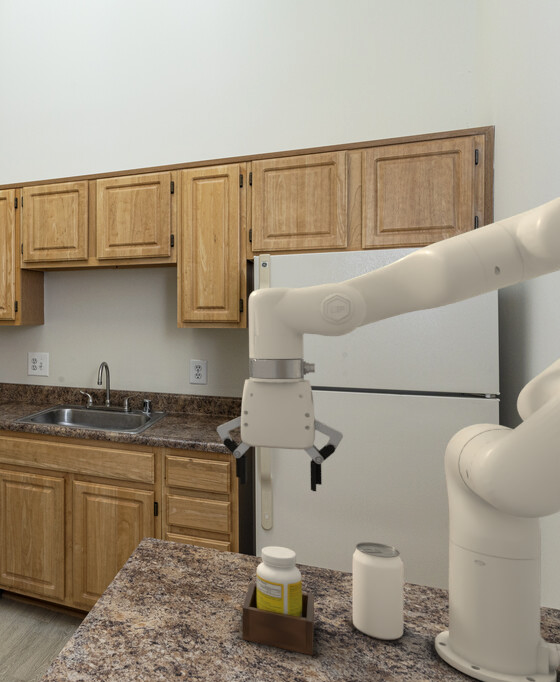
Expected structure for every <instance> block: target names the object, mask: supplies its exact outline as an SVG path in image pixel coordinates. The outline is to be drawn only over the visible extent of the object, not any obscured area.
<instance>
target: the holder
mask: <svg viewBox="0 0 560 682" xmlns="http://www.w3.org/2000/svg"><path fill="white" fill-rule="evenodd" d="M314 631H315V594H313V593H308V592H303V591H302V617H298V616H293V615H288V614H283V613H278V612H273V611H268V610H263V609H258V608H257V583H255V582H254V583H253V582H250V583H249V585H248V589H247V591H246V595H245V598H244V602H243V605H242V640H243V641H246V642H247V641H248V642H253V643H257V644H260V645H261V644H262V645H266V646H269V647H275V648H277V649H283V650H288V651H291V652H297V653H300V654H305V655H310V656H313V655H314V635H315V634H314Z"/></svg>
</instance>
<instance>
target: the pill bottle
mask: <svg viewBox="0 0 560 682" xmlns="http://www.w3.org/2000/svg"><path fill="white" fill-rule="evenodd" d="M296 565H297V554H296V552H295V551H294V550H292V549H290V548H287V547H282V546H277V545H273V546H272V545H271V546H265V547H262V549H261V562H260V563H259V564H258V565H257V567H256V584H257V608H258V609H263V610H268V611H273V612H278V613H283V614H288V615H293V616H298V617H302V592H303V578H302V573H301V570H300V569H299V568H297V566H296Z"/></svg>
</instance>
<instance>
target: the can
mask: <svg viewBox="0 0 560 682" xmlns="http://www.w3.org/2000/svg"><path fill="white" fill-rule="evenodd" d="M355 548H356V549H355V550H354V552H353V554H352V624H353V626H354V627H355V629H356V630H357V631H359V632H360V633H361V634H363V635H365V636H368V637H370V638H373V639H376V640H382V641H395V640H398V639H400V638H401V637H402V636H403V635H404V562H403V560H402V558H401V556H400V554H401V552H400V550H399V549H397V548H395V547H393V546H391V545H388V544H386V543H385V544H384V543H379V542H370V541H363V542H362V541H361V542H359V543H356V545H355Z"/></svg>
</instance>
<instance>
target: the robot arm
mask: <svg viewBox="0 0 560 682" xmlns="http://www.w3.org/2000/svg"><path fill="white" fill-rule="evenodd" d="M558 271H560V196H558V197H555V198H554V199H552V200H549V201H547V202H545V203H543V204H541V205H539V206H536V207H533V208H531V209H528V210H526V211H523V212H520V213H518V214H517V213H516V214H515V215H512V216H509V217H507V218H503V219H501V220H498V221H494V222H492V223H489V224H487V225H483V226H481V227H478V228H475V229H472V230H469V231H467V232H464V233H461V234H458V235H454V236H451V237H449V238H445V239H443V240H440V241H437V242H434V243H432V244H429V245H426V246H424V247H421V248H419V249H417V250H415V251H413V252H411V253H409V254H407V255H405V256H404V257H402V258H400V259H398V260H396V261H395V260H394V261H393V262H391V263H389V264H387V265H385V266H381V267H379V268H377V269H374V270H371V271H369V272H365V273H364V274H361V275H358V276H355V277H352V278H349V279H346V280H343V281H340V282H329V283H323V284H318V285H311V286H304V287H296V288H295V287H288V286H287V287H285V286H284V287H283V286H282V287H281V286H278V287H265V288H258V289H255V290H253V291H252V292H251V293H250V294H249V297H248V356H249V360H248V361H249V362H248V364H249V365H248V367H249V378H248V379H244V384H243V391H242V398H241V409H240V411H241V412H240V416H238V417H236V418H233V419H231V420H229V421H227V422H225V423H222V424H220V425H219V426H217V428H216V432H217V434H218V436H219V438H220V439H221V441H222V443H223V445H224V446H225V448H227V450H228V451H229V452H230V453H231V454H232V456H233V457H234V458H235V477H236V478H238V479H239V478H240V479H239V480H240V485H241V486H244V485H246V484H247V482H248V480H249V479H248V477H249V476H248V474H249V473H248V456H247V454H246V452H247V451H248V450H249V448H250V447H253V448H269V449H283V450H304V451H305V453H307V455H308V456H309V457H310V458H311V460H310V463H309V464H310V465H309V466H310V468H309V469H310V491H312V492H317V485H318V486H319V485H320V486H322V480H323V479H322V464H323V463H324V461H326V460H327V459H328V458H329V457H331V456H332V455H333V454H334V453H335V451H336V449H337V448H338V446H339V445H340V443H341V441H342V440H343V438H344V435H343V432H341V431H340V430H339V429H335V428H334V427H332V426H330V425H328V424H326V423H324V422H322V421H320V420H319V419H316V418H315V405H314V396H313V391H312V384H311V382H310V380H309V379H305V376H306V375H307V374H310V373H316V372H315V369H316V368H315V365H316V364H315V363H310V362H307V361H305V358H304V357H305V356H304V354H305V353H304V335H305V334H308V335H316V336H317V335H319V336H324V337H341V336H345V335H347V334H350V333H352V332H353V331H355V330H356V329H358V328H361V327H364V326H366V325H370V324H373V323H377V322H379V321H383V320H386V319H390V318H393V317H396V316H400V315H404V314H409V313H413V312H419V311H424V310H425V311H426V310H431V309H438V308H442V307H445V306H449V305H452V304H456V303H459V302H460V303H461V302H462V301H467V300H469V299H471V298H474V297H479V296H481V295H485V294H487V293H491V292H494V291H497V290H500V289H504V288H507V287H510V286H513V285H516V284H519V283H523V282H526V281H530V280H533V279H535V278H539V277H543V276H545V275H549V274H553V273H555V272H558ZM516 409H517V410H516V411H517V412H518V415H519V417H520V419H521V420H522V422H521V423H520V424H518V426H516V427H515V428H511V427H507V426H505V425H501V424H497V423H496V424H495V423H475V424H472V425H468V426H465V427H463V428H462V429H460V430H459V431H457V432H456V433H455V434H454V435H453V436H452V437H451V438H450V440H449V441H448V443H447V445H446V448H445V453H444V458H443V459H444V460H443V463H444V475H445V477H444V478H445V483H446V491H447V501H448V630H444V631H441V632H439V633H438V634H437V635H436V636H435V638H434V648H435V651H436V653H437V655H438V656H439V657H440V658H441V659H442V660H443V661H445V662H446V663H447V664H448V665H449V666H451V667H453V668H454V669H456V670H457V671H459V672H461V673H463V674H465V675H467V676H469V677H471V678H473V679H477V680H478V681H481V682H557V678H558V677H557V676H558V675H557V670H556V669H559V667H560V643H552V642H548V641H546V640H545V639H544V638H543V637H542V636H541V582H542V581H541V578H542V577H541V573H542V571H541V569H542V568H541V567H542V566H541V565H542V564H541V563H542V561H541V559H542V557H541V556H542V534H541V533H542V531H541V522H540V518H544V517H548V516H552V515H554V514H557V513H559V512H560V357H559V358H557V359H556V360H555V361H554V362H553V363H551V364H550V365H549V366H548V367H547V368H545V369H544V370H542V372H540V373H538V374H537V375H536V376H534V377H533V378H532V379H530V380H529V382H528V383H527V384H525V386H524V387H523V388H522V389H521V391H520V393H519V394H518V397H517V401H516ZM236 428H240V439H241V442H240V443H239V444H238V443H237V442H236V441H235V440H234V439H233V438H232V437H231V435H230V431H232V430H234V429H236ZM316 431H317V432H319V433H321V434H323V435H325V436H327V437H328V438H329V439H328V441H327V443H326V444H325V445H324V446H323V447H322V448H321V449H319V448H318V447H317V446H316V445H315V439H316Z"/></svg>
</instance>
